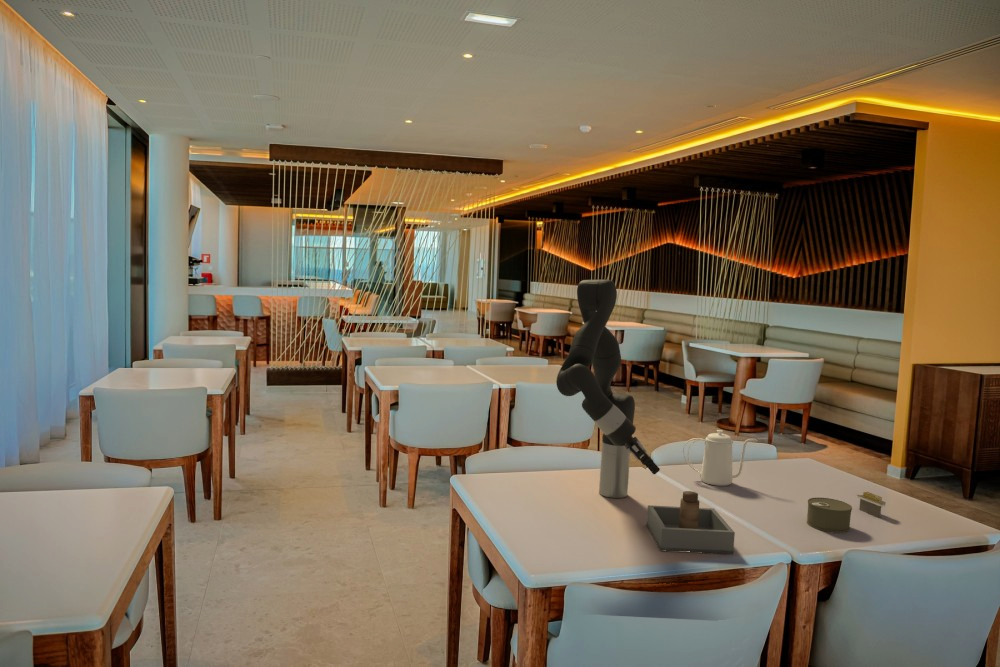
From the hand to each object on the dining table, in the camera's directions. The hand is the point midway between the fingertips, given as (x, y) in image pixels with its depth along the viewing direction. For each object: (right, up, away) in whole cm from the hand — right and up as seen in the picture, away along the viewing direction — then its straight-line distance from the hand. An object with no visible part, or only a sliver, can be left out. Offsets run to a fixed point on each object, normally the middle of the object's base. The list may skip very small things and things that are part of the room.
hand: (653, 467), depth 197 cm
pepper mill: (+10, -19, +1) cm, 21 cm away
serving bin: (+10, -20, +2) cm, 22 cm away
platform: (+76, -21, +32) cm, 85 cm away
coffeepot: (+35, -16, +59) cm, 71 cm away
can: (+56, -21, +18) cm, 62 cm away
